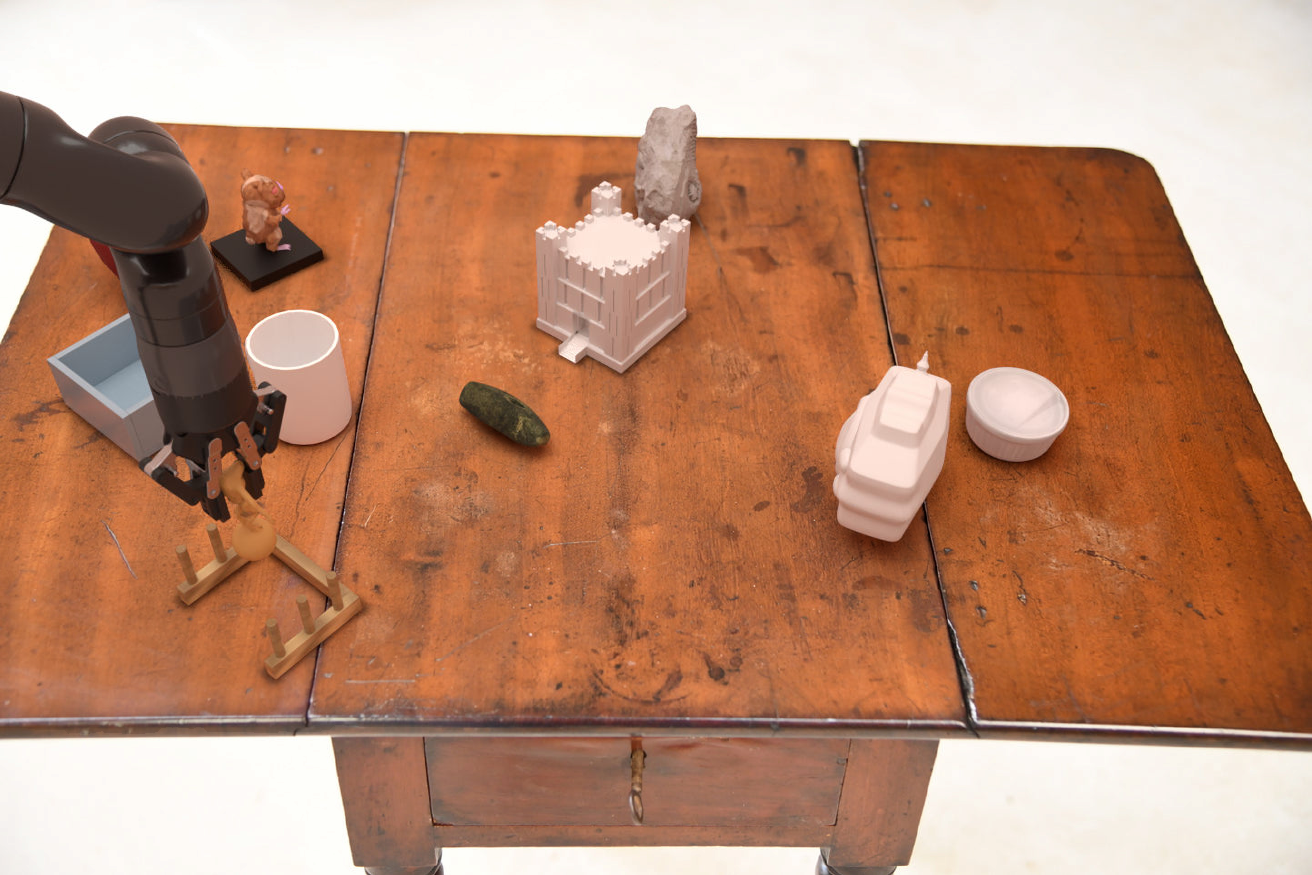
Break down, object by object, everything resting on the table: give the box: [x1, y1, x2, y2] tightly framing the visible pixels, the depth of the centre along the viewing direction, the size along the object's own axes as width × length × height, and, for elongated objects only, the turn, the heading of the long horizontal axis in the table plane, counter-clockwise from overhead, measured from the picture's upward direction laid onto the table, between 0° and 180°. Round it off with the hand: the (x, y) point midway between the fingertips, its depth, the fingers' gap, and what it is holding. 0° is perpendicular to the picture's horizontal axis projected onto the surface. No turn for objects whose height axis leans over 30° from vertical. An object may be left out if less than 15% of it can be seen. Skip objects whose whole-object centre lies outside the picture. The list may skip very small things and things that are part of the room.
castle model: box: [534, 180, 692, 374], centre depth 148 cm, size 13×15×14 cm
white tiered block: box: [832, 350, 952, 543], centre depth 130 cm, size 11×18×16 cm, turn 158°
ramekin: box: [965, 366, 1070, 463], centre depth 141 cm, size 11×11×5 cm
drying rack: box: [174, 504, 363, 680], centre depth 121 cm, size 11×14×7 cm
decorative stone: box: [458, 380, 551, 448], centre depth 139 cm, size 11×8×5 cm
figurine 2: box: [219, 459, 277, 562], centre depth 113 cm, size 8×6×12 cm
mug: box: [244, 309, 353, 446], centre depth 137 cm, size 10×12×12 cm
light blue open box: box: [46, 312, 164, 463], centre depth 139 cm, size 14×14×7 cm
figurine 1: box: [209, 167, 325, 292], centre depth 156 cm, size 10×10×12 cm
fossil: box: [633, 103, 703, 231], centre depth 165 cm, size 16×9×15 cm, turn 172°
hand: (236, 504), depth 112 cm, fingers closed on figurine 2, 3 cm apart
